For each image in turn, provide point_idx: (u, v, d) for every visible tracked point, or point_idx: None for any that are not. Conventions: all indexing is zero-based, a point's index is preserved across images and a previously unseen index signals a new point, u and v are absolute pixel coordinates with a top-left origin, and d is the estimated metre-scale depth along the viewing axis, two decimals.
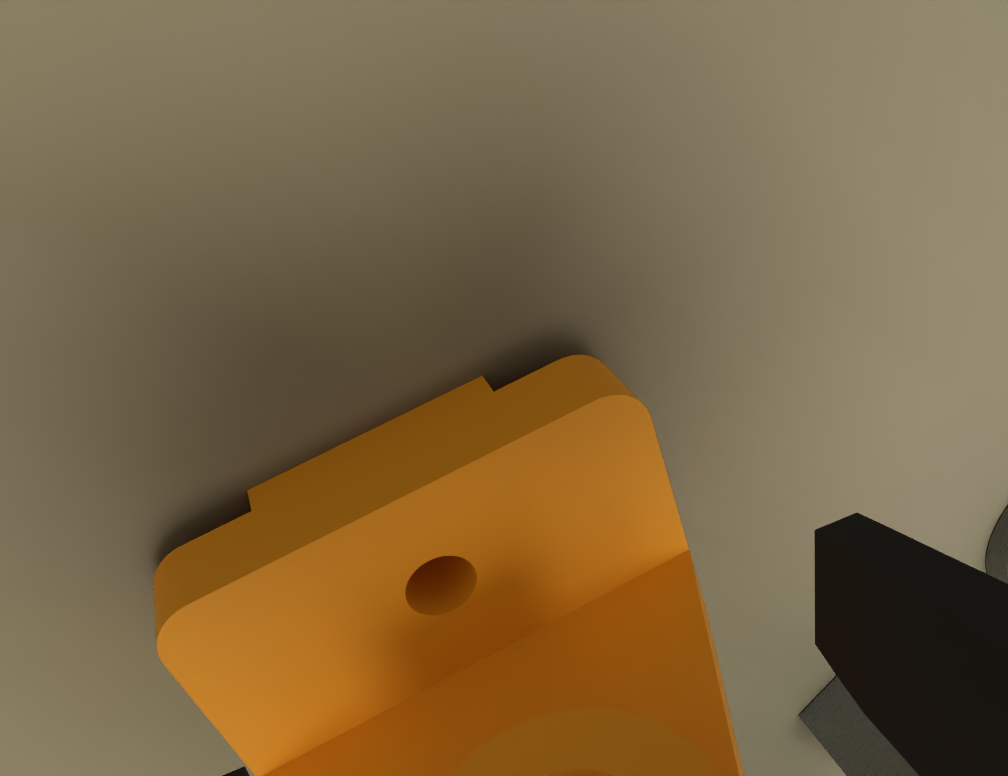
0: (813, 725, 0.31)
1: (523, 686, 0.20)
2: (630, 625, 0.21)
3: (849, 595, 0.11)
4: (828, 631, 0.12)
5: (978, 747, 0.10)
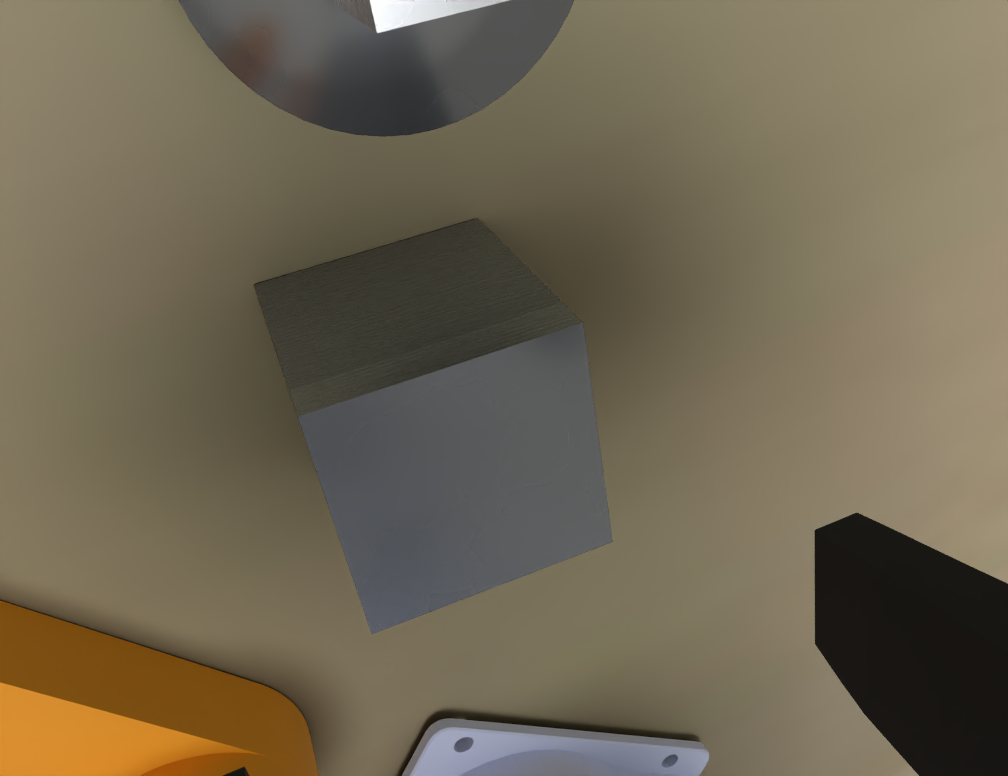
0: None
1: None
2: None
3: (849, 595, 0.11)
4: (828, 631, 0.12)
5: (978, 747, 0.10)
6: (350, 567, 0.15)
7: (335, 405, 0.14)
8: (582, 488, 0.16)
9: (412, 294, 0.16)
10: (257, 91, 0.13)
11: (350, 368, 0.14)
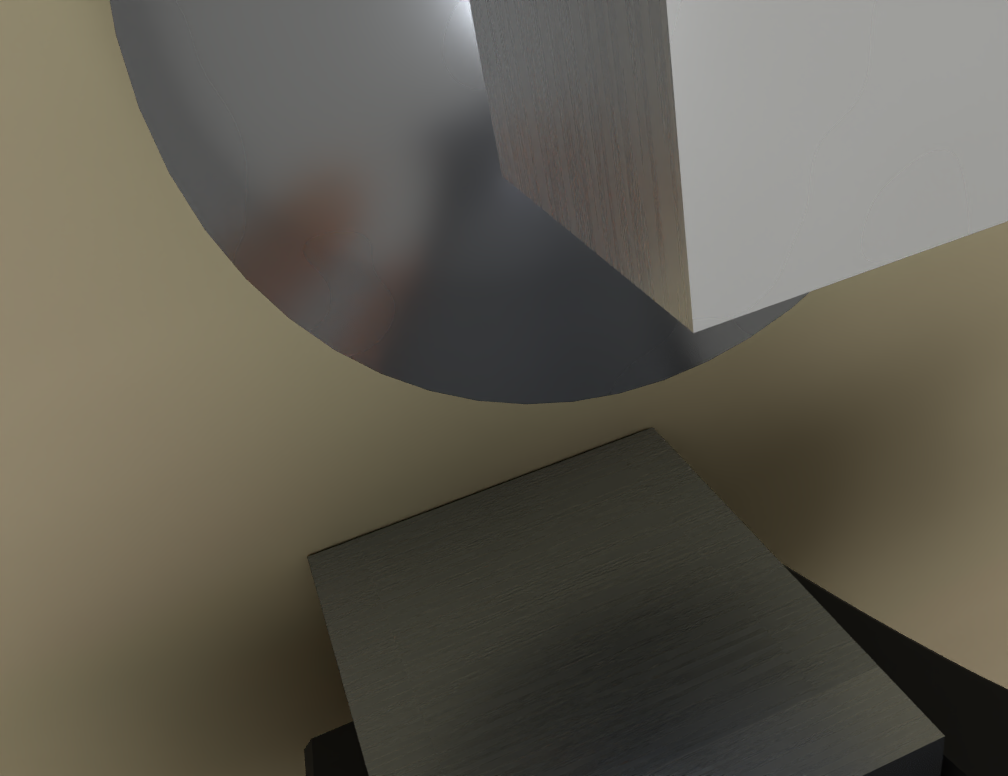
0: None
1: None
2: None
3: None
4: None
5: None
6: None
7: None
8: None
9: (586, 613, 0.09)
10: (342, 350, 0.06)
11: None
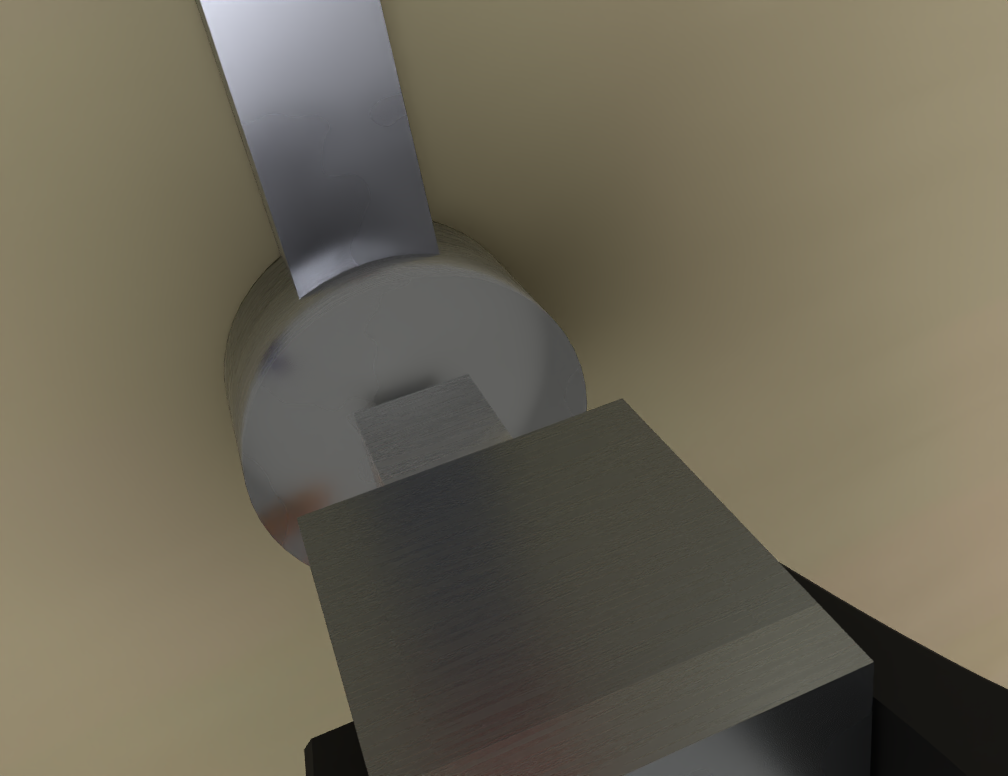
0: None
1: None
2: None
3: None
4: None
5: None
6: None
7: None
8: None
9: (553, 562, 0.10)
10: None
11: (476, 744, 0.08)
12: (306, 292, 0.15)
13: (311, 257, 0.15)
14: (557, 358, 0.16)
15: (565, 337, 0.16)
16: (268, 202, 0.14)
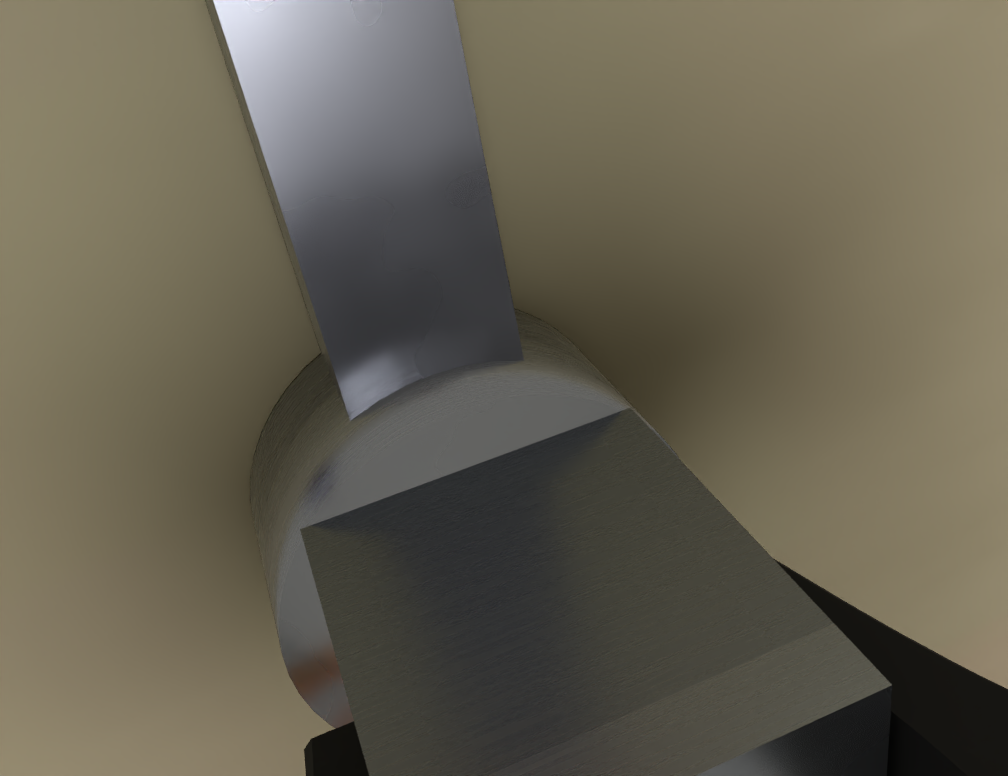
0: None
1: None
2: None
3: None
4: None
5: None
6: None
7: None
8: None
9: (562, 578, 0.10)
10: None
11: (486, 769, 0.08)
12: (359, 412, 0.12)
13: (366, 371, 0.12)
14: None
15: None
16: (314, 306, 0.11)
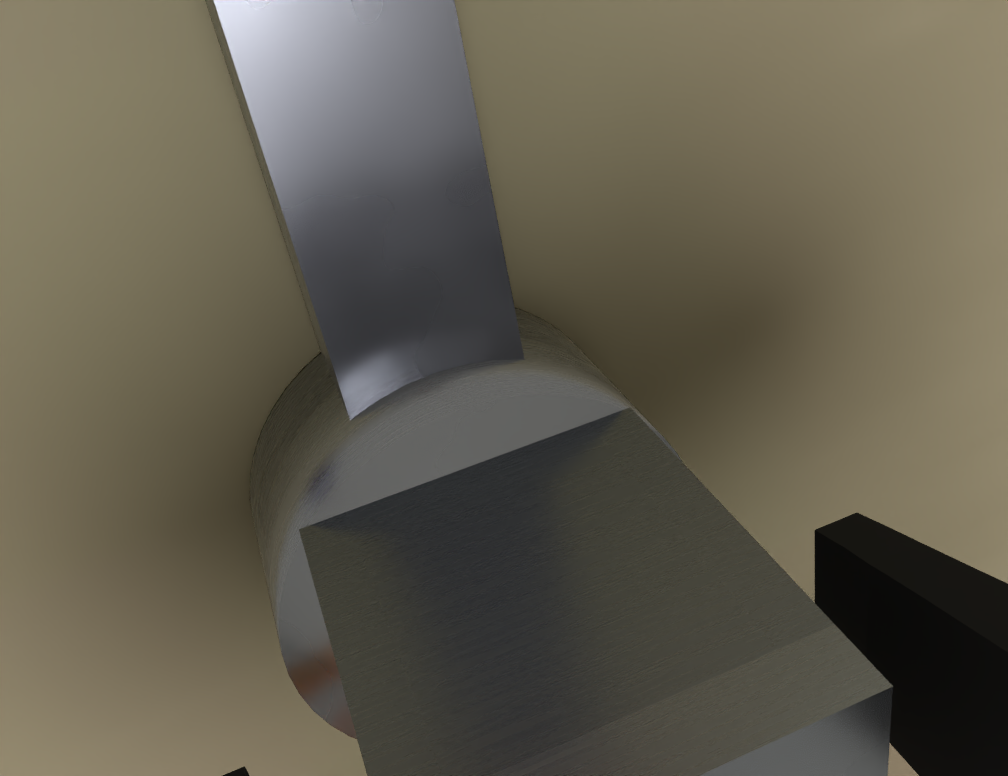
0: None
1: None
2: None
3: (849, 595, 0.11)
4: None
5: (978, 747, 0.10)
6: None
7: None
8: None
9: (561, 578, 0.10)
10: None
11: (485, 770, 0.08)
12: (358, 411, 0.12)
13: (366, 370, 0.12)
14: None
15: None
16: (314, 305, 0.11)
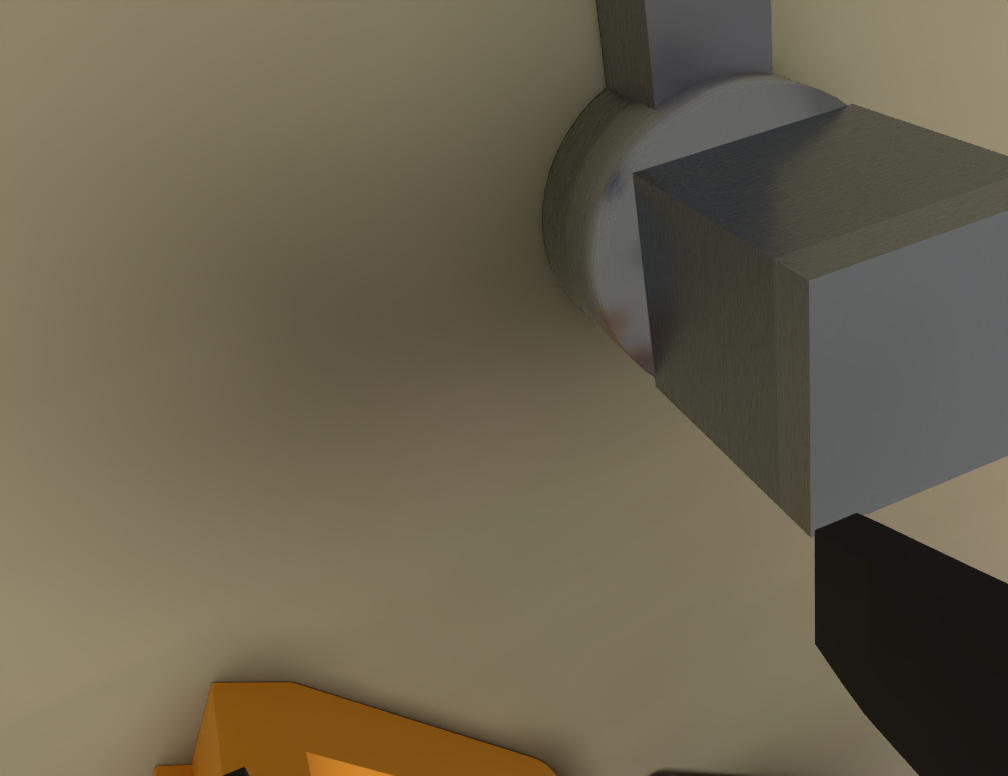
0: (669, 393, 0.18)
1: None
2: None
3: (849, 595, 0.11)
4: (828, 631, 0.12)
5: (978, 747, 0.10)
6: (812, 459, 0.14)
7: (845, 269, 0.12)
8: None
9: (841, 171, 0.15)
10: (649, 371, 0.18)
11: (831, 236, 0.13)
12: (661, 104, 0.17)
13: (671, 70, 0.17)
14: None
15: None
16: (646, 13, 0.16)
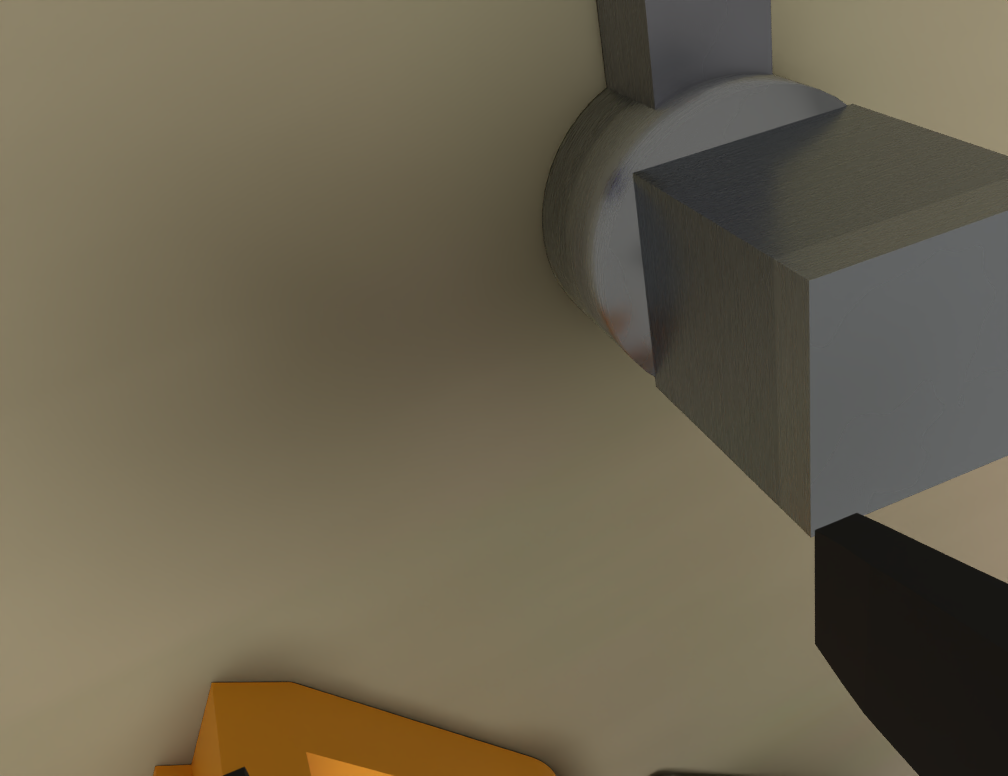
0: (669, 393, 0.18)
1: None
2: None
3: (849, 595, 0.11)
4: (828, 631, 0.12)
5: (978, 747, 0.10)
6: (812, 459, 0.14)
7: (846, 269, 0.12)
8: None
9: (841, 171, 0.15)
10: (649, 371, 0.18)
11: (831, 236, 0.13)
12: (661, 104, 0.17)
13: (671, 70, 0.17)
14: None
15: None
16: (647, 13, 0.16)
